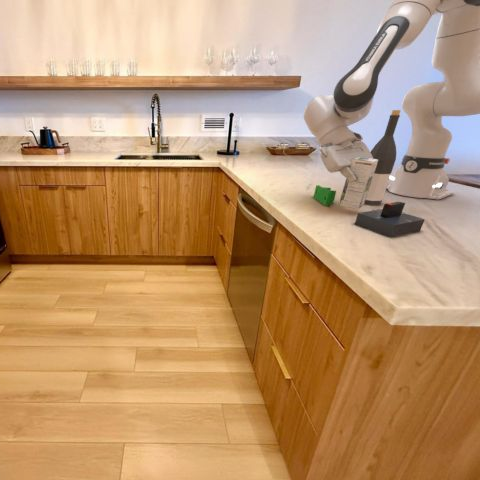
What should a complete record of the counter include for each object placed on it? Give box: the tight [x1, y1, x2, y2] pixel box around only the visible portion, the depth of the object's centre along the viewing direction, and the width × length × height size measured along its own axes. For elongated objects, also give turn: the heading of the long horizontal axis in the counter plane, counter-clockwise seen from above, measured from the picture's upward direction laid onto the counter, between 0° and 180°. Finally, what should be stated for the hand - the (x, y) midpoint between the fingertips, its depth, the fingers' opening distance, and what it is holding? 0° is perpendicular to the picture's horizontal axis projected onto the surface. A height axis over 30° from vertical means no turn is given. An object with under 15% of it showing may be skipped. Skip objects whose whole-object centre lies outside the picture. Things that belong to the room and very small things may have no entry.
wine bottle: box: [364, 109, 401, 206], centre depth 96 cm, size 8×8×30 cm
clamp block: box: [354, 208, 426, 238], centre depth 79 cm, size 12×10×4 cm
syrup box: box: [338, 157, 378, 210], centre depth 88 cm, size 6×6×14 cm
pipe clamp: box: [313, 184, 337, 207], centre depth 102 cm, size 11×4×5 cm, turn 173°
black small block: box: [381, 201, 406, 218], centre depth 78 cm, size 6×2×4 cm, turn 111°
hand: (361, 179), depth 87 cm, fingers closed on syrup box, 6 cm apart
